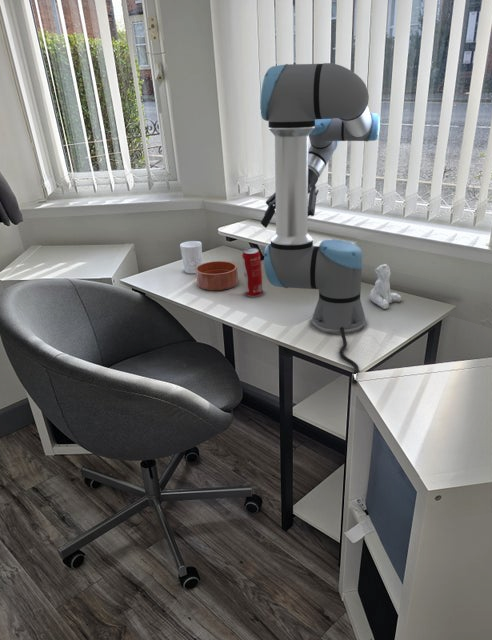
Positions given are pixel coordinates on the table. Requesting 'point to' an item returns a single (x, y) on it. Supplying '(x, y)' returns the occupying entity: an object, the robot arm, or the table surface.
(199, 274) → the bowl
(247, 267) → the beverage can
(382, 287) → the sitting furry creature
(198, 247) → the white cup
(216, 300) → the table surface
